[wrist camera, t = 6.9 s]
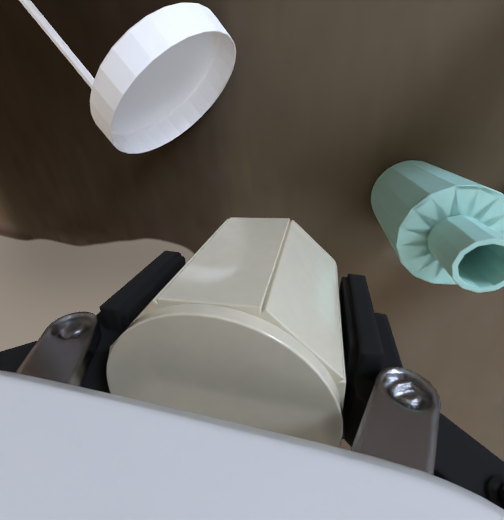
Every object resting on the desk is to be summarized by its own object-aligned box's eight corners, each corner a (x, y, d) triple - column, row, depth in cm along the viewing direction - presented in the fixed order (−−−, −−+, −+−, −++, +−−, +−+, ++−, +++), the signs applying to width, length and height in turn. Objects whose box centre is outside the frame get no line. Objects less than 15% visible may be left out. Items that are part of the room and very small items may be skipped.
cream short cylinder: (173, 278, 13) (71, 388, 8) (257, 185, 10) (189, 258, 5) (266, 357, 14) (231, 504, 9) (366, 290, 11) (404, 446, 6)
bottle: (356, 195, 30) (386, 262, 16) (414, 144, 27) (516, 171, 13) (398, 239, 31) (463, 339, 17) (459, 194, 28) (600, 271, 14)
